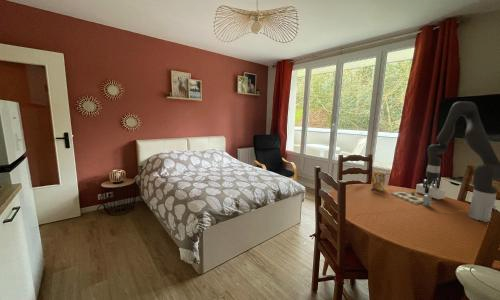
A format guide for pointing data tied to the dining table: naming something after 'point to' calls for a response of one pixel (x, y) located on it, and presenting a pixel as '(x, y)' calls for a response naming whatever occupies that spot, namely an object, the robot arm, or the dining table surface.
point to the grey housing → (431, 191)
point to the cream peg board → (408, 197)
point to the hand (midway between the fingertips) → (429, 192)
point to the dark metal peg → (427, 200)
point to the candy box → (378, 180)
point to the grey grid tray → (416, 195)
